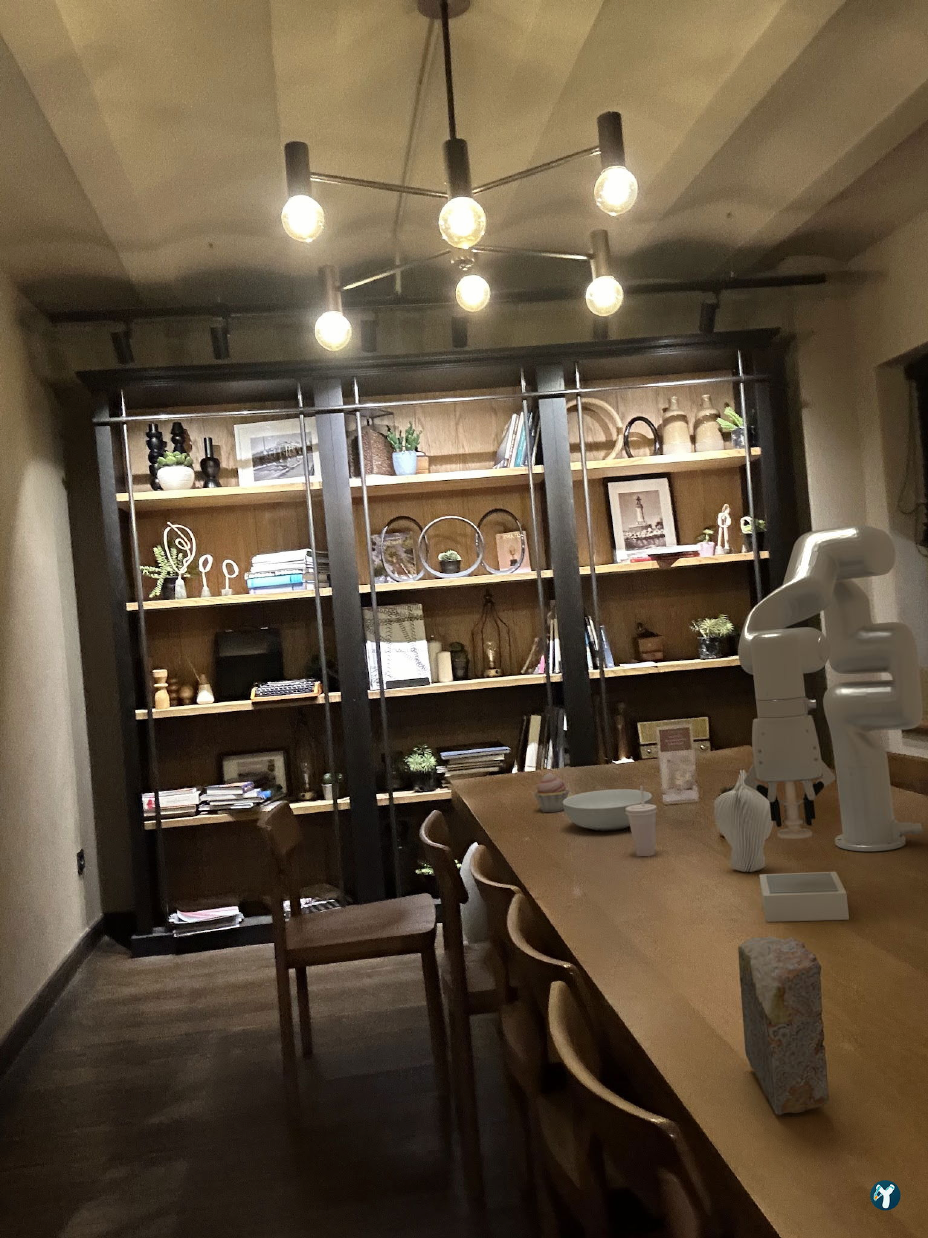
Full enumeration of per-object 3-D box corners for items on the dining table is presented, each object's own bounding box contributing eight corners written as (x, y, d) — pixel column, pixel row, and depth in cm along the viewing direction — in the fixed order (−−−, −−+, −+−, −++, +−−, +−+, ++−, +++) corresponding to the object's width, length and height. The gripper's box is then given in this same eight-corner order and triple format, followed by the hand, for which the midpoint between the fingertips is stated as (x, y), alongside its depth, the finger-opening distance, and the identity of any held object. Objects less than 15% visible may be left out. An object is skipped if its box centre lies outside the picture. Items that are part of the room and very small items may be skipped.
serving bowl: (554, 838, 221) (551, 808, 221) (578, 818, 240) (576, 790, 240) (645, 836, 213) (641, 805, 213) (662, 816, 232) (659, 787, 232)
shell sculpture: (750, 878, 172) (739, 778, 172) (718, 870, 179) (707, 774, 180) (783, 869, 176) (773, 771, 176) (751, 861, 183) (741, 767, 183)
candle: (808, 839, 149) (801, 772, 149) (773, 838, 152) (767, 772, 152) (815, 832, 153) (808, 766, 153) (782, 831, 156) (775, 767, 156)
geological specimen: (744, 1069, 102) (729, 928, 103) (802, 1063, 102) (787, 922, 102) (773, 1120, 92) (756, 963, 92) (838, 1115, 92) (821, 957, 92)
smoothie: (661, 857, 193) (654, 788, 193) (629, 859, 194) (622, 790, 195) (661, 849, 199) (654, 782, 200) (630, 851, 201) (623, 784, 201)
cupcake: (577, 806, 254) (573, 769, 255) (561, 814, 247) (557, 775, 247) (546, 806, 259) (542, 769, 260) (529, 813, 252) (525, 775, 252)
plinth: (838, 896, 157) (835, 870, 157) (849, 919, 145) (846, 892, 145) (761, 898, 160) (759, 873, 160) (766, 921, 148) (763, 895, 148)
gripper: (834, 703, 155) (846, 817, 154) (726, 711, 159) (738, 822, 158) (840, 707, 147) (853, 827, 147) (727, 715, 151) (739, 832, 151)
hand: (793, 823), depth 152 cm, fingers closed on candle, 3 cm apart
